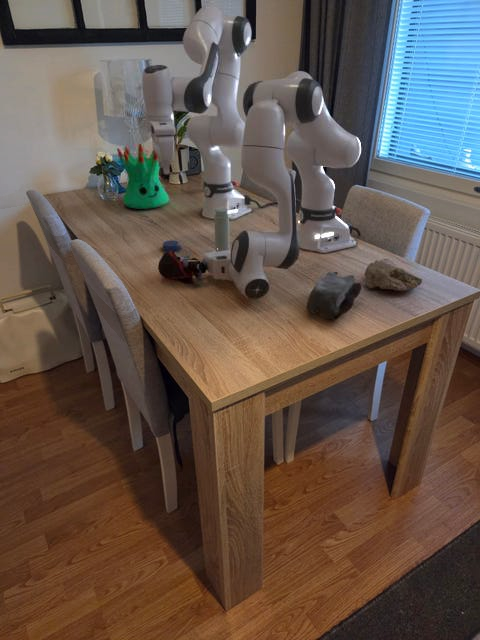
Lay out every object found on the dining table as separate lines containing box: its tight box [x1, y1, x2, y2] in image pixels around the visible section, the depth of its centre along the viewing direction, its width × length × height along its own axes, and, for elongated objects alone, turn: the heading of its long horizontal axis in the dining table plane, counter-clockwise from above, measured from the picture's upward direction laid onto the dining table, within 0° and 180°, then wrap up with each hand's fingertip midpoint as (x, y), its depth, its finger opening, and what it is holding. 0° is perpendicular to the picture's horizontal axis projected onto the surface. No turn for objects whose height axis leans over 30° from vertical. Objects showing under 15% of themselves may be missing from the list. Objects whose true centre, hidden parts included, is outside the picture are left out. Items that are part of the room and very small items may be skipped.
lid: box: [162, 240, 180, 253], centre depth 159 cm, size 6×6×2 cm
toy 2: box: [157, 251, 207, 286], centre depth 136 cm, size 12×9×15 cm
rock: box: [305, 271, 362, 321], centre depth 121 cm, size 18×11×8 cm, turn 152°
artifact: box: [364, 258, 423, 292], centre depth 135 cm, size 18×7×15 cm
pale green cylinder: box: [213, 208, 230, 251], centre depth 151 cm, size 5×5×16 cm
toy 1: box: [116, 142, 170, 210], centre depth 197 cm, size 20×20×25 cm
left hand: (164, 170), depth 146 cm, fingers open, 8 cm apart
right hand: (229, 249), depth 144 cm, fingers open, 8 cm apart
